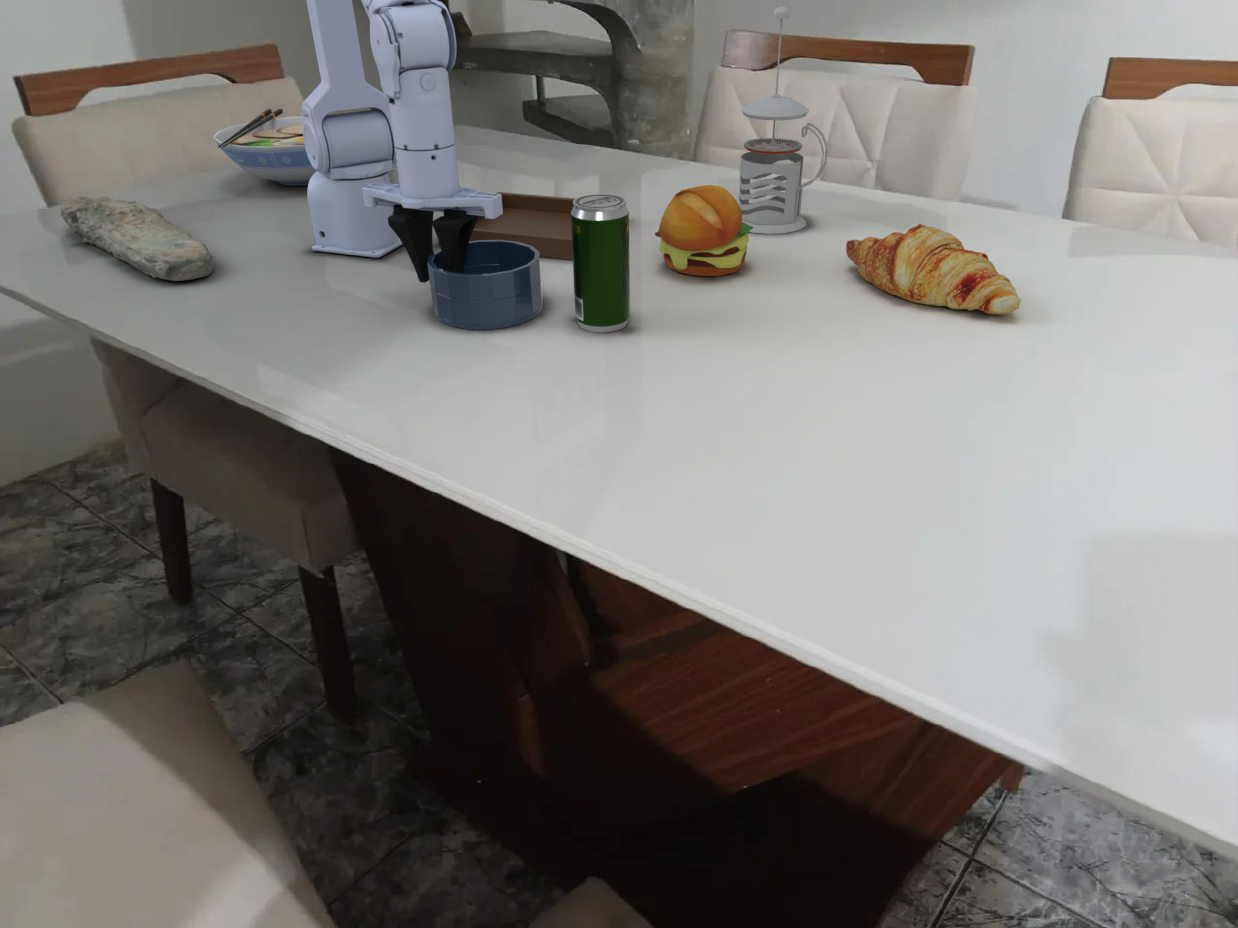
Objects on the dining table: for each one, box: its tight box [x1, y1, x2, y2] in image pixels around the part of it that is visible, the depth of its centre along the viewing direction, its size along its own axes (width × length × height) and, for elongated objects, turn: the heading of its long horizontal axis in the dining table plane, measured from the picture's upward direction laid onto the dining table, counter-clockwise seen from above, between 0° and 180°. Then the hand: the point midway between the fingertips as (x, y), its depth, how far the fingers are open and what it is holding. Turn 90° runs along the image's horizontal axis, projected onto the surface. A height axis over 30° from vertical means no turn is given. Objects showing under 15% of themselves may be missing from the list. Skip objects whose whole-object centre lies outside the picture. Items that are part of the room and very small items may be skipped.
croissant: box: [845, 223, 1021, 315], centre depth 96 cm, size 21×10×8 cm, turn 39°
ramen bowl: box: [212, 108, 317, 186], centre depth 140 cm, size 25×23×8 cm
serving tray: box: [438, 191, 576, 261], centre depth 117 cm, size 18×17×2 cm
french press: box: [737, 6, 829, 235], centre depth 113 cm, size 10×12×25 cm
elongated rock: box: [60, 195, 214, 282], centre depth 113 cm, size 35×5×10 cm
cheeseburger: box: [654, 184, 753, 277], centre depth 103 cm, size 10×11×10 cm
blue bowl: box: [427, 240, 544, 331], centre depth 94 cm, size 11×11×6 cm
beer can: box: [571, 193, 631, 334], centre depth 89 cm, size 5×5×12 cm
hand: (441, 281), depth 96 cm, fingers open, 3 cm apart
